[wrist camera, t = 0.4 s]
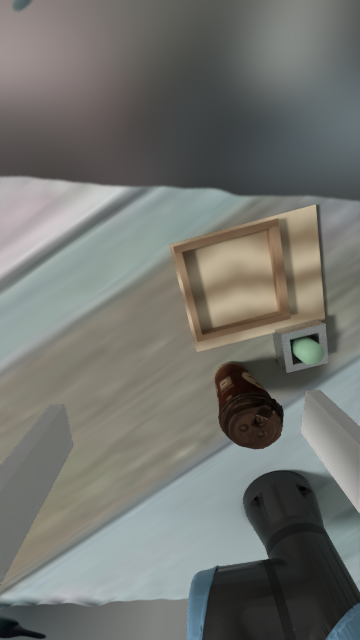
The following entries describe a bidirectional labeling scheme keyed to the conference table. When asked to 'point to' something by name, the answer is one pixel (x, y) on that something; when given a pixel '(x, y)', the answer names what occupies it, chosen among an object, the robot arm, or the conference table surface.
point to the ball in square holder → (285, 334)
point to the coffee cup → (246, 408)
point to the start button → (307, 350)
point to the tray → (251, 278)
